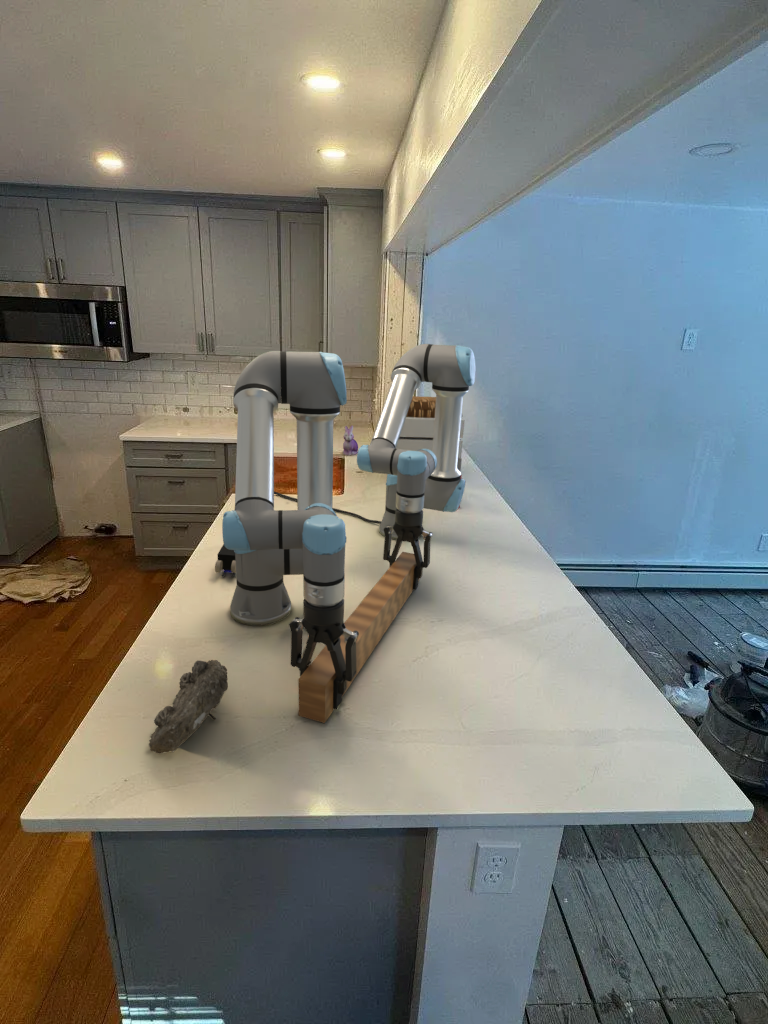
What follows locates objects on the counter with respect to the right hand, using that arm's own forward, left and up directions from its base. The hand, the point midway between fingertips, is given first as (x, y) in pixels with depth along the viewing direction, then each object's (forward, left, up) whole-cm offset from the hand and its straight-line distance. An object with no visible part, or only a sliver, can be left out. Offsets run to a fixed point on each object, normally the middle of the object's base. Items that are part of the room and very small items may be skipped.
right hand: (404, 585), depth 161 cm
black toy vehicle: (-39, -34, -1) cm, 51 cm away
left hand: (+27, -47, 0) cm, 54 cm away
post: (+14, -24, -1) cm, 27 cm away
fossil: (+16, -68, -1) cm, 70 cm away
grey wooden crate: (-84, +87, -1) cm, 121 cm away
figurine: (-132, +82, -1) cm, 155 cm away
